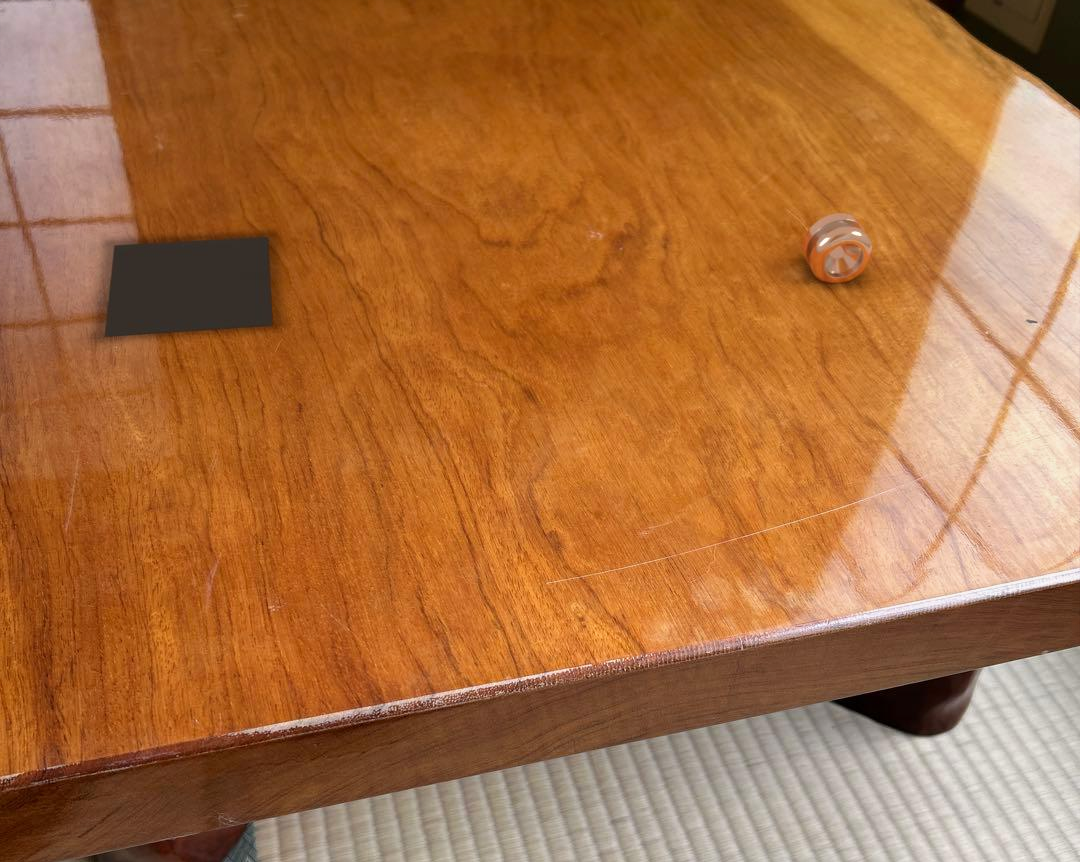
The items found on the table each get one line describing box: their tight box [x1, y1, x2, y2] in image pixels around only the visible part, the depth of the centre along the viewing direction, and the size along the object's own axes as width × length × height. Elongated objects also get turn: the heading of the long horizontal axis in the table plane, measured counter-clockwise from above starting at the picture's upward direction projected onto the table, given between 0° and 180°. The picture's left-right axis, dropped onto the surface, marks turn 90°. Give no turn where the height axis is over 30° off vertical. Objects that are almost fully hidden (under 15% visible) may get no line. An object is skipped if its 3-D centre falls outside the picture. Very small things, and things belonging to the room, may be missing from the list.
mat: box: [104, 236, 274, 338], centre depth 90 cm, size 12×12×1 cm
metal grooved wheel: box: [801, 212, 873, 284], centre depth 94 cm, size 5×3×5 cm, turn 98°
